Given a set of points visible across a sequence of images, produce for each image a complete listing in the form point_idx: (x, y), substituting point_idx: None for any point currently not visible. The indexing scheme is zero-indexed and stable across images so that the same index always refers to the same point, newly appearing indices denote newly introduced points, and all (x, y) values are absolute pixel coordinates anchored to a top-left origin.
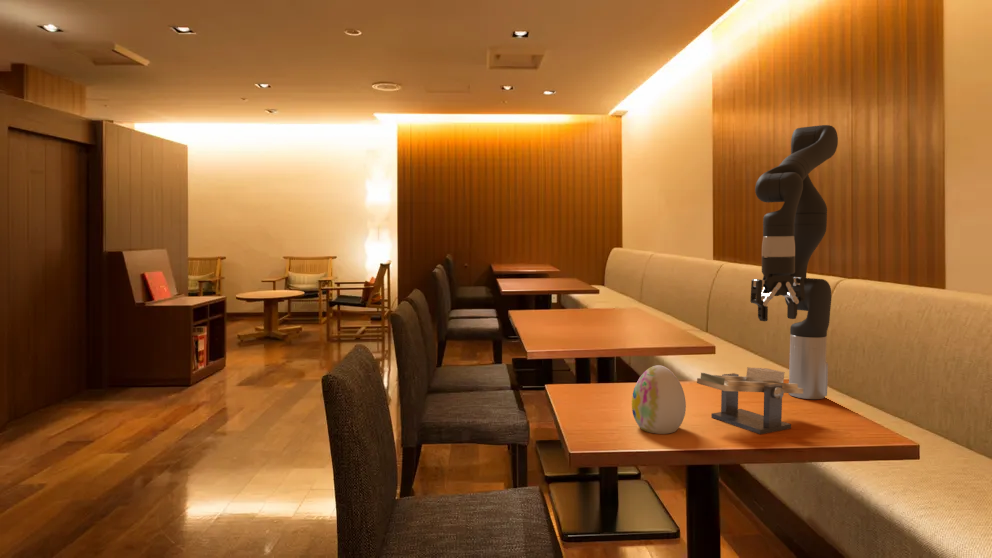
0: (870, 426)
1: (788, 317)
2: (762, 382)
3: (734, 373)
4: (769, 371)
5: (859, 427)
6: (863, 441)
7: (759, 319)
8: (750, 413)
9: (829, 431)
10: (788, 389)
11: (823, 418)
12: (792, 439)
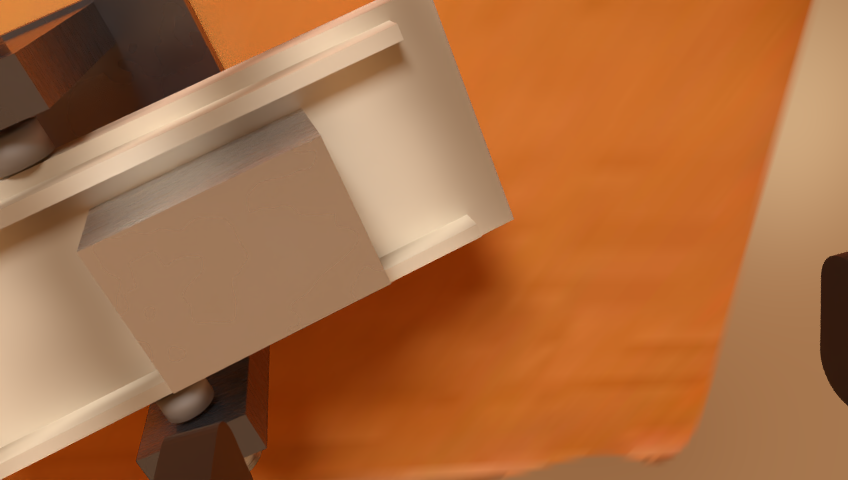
0: (722, 246)
1: (834, 274)
2: (149, 402)
3: (19, 63)
4: (232, 362)
5: (663, 260)
6: (540, 431)
7: (166, 446)
8: (188, 84)
9: (489, 316)
10: None
11: (601, 111)
12: None
